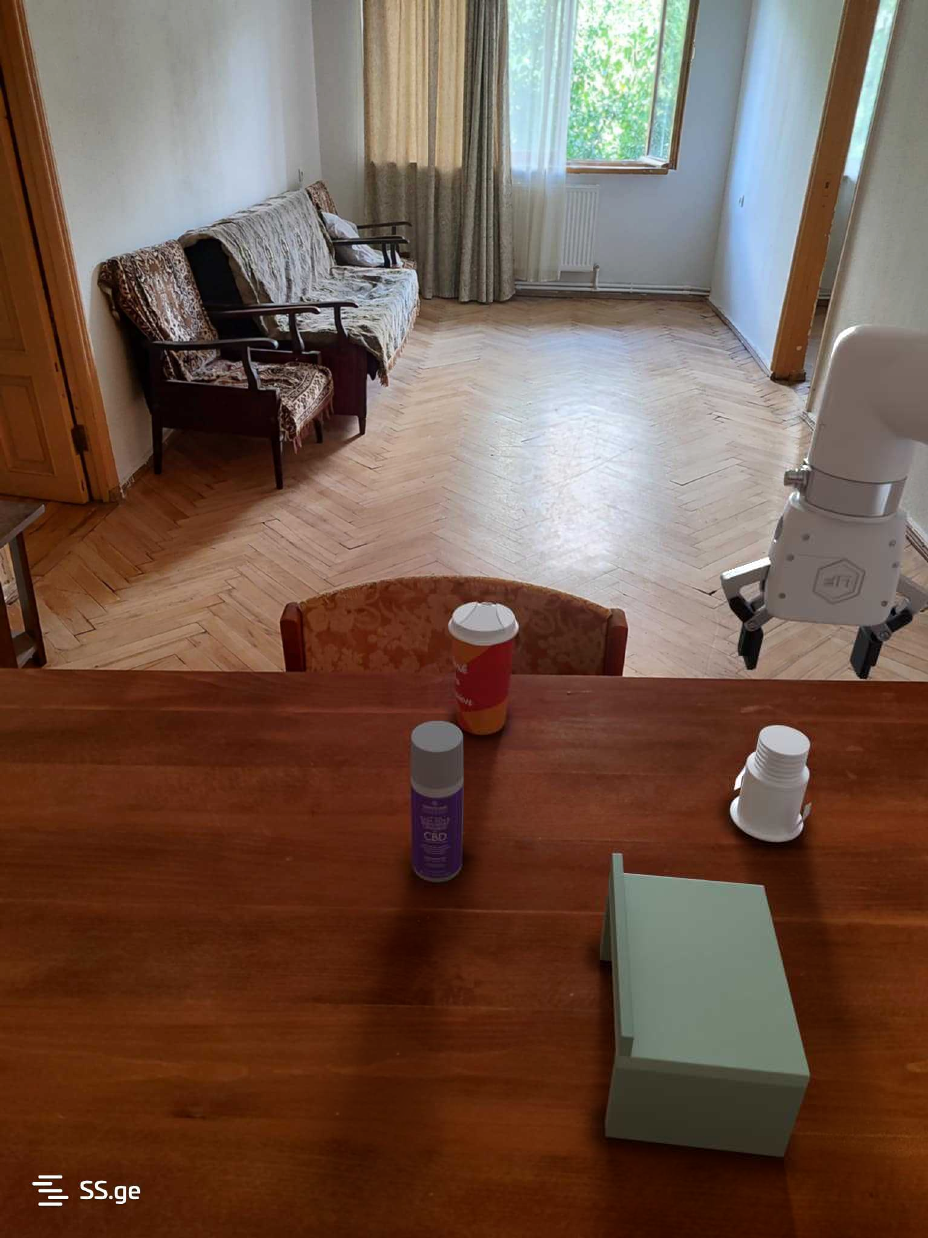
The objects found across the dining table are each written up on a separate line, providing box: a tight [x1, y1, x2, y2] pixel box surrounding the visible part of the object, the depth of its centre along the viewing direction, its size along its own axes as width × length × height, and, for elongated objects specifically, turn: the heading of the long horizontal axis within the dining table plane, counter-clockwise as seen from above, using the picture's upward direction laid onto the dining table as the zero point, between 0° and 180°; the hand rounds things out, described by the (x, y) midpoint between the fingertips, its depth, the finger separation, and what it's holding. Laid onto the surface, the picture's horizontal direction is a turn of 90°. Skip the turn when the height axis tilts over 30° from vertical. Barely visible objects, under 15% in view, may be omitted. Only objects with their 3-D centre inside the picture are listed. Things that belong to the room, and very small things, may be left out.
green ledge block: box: [599, 853, 811, 1158], centre depth 65 cm, size 12×16×11 cm
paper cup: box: [447, 601, 519, 736], centre depth 99 cm, size 8×8×14 cm
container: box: [410, 720, 464, 883], centre depth 79 cm, size 5×5×15 cm
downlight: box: [729, 724, 812, 843], centre depth 86 cm, size 8×7×10 cm
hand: (802, 666), depth 79 cm, fingers open, 9 cm apart
